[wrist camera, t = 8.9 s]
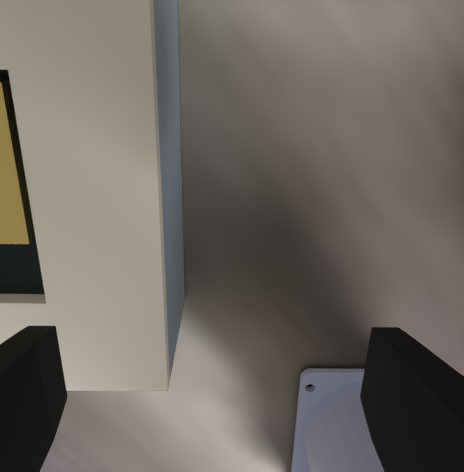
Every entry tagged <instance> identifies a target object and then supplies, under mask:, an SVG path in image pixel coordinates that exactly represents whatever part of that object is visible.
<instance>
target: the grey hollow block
mask: <svg viewBox="0 0 464 472" xmlns="http://www.w3.org/2000/svg"><path fill="white" fill-rule="evenodd" d="M0 76H9V79H10V85H11V91H12V97H13V103H14V109H15V115H16V121H17V128H18V134H19V140H20V146H21V152H22V158H23V164H24V170H25V176H26V182H27V189H28V195H29V201H30V207H31V213H32V219H33V225H34V231H35V237H36V239H35V240H34V241H32V242H31V243H30V244H0V344H1V343H3V342H4V341H6V340H7V339H9V338H10V337H12V336H13V335H14V334H16V333H17V332H19V331H21V330H22V329H24V328H25V327H27V326H56V331H57V337H58V343H59V349H60V355H61V361H62V367H63V373H64V379H65V385H66V390H69V391H168V387H169V382H170V376H171V371H172V365H173V360H174V355H175V349H176V344H177V338H178V333H179V327H180V322H181V316H182V311H183V305H184V300H185V282H184V243H183V203H182V164H181V125H180V86H179V46H178V7H177V0H0Z"/></svg>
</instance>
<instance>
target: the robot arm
mask: <svg viewBox="0 0 464 472" xmlns="http://www.w3.org/2000/svg"><path fill="white" fill-rule="evenodd" d="M309 384H312V386H311V387H306V386H307V385H309ZM66 400H67V391H66V385H65V379H64V373H63V367H62V361H61V355H60V349H59V343H58V337H57V331H56V326H27V327H25V328H24V329H22V330H21V331H19V332H17V333H16V334H14V335H13V336H12V337H10V338H9V339H7V340H6V341H4V342H3V343H1V344H0V472H40V469H41V467H42V465H43V463H44V461H45V458H46V456H47V454H48V452H49V449H50V447H51V445H52V443H53V440H54V438H55V435H56V432H57V429H58V426H59V423H60V420H61V416H62V413H63V410H64V406H65V403H66ZM291 472H464V376H462V375H461V374H460V373H458V372H457V371H456V370H454V369H453V368H452V367H450V366H449V365H448V364H446V363H445V362H444V361H443V360H441V359H440V358H439V357H437V356H436V355H435V354H433V353H432V352H431V351H430V350H428V349H427V348H426V347H424V346H423V345H422V344H420V343H419V342H418V341H416V340H415V339H414V338H412V337H411V336H410V335H408V334H407V333H406V332H404V331H403V330H401V329H400V328H396V327H372V330H371V335H370V341H369V347H368V353H367V359H366V364H365V369H317V368H310V369H306V370H304V371H303V372H302V373H301V375H300V384H299V395H298V405H297V415H296V426H295V436H294V446H293V457H292V467H291Z"/></svg>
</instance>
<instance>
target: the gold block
mask: <svg viewBox="0 0 464 472" xmlns="http://www.w3.org/2000/svg"><path fill="white" fill-rule="evenodd" d="M35 239H36V237H35V231H34V225H33V219H32V213H31V207H30V201H29V195H28V189H27V182H26V176H25V170H24V164H23V158H22V152H21V146H20V140H19V134H18V128H17V121H16V115H15V109H14V103H13V97H12V91H11V85H10V79H9V76H0V244H30V243H31V242H32V241H34V240H35Z"/></svg>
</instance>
